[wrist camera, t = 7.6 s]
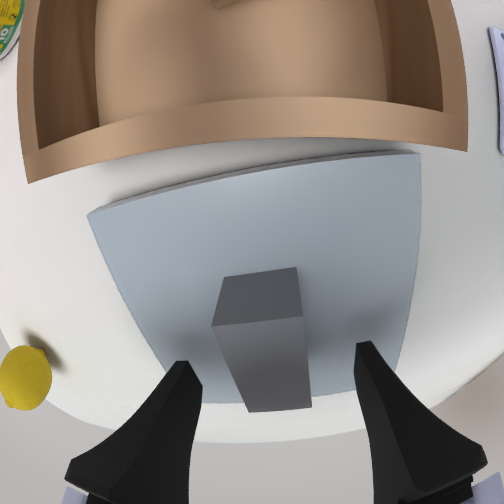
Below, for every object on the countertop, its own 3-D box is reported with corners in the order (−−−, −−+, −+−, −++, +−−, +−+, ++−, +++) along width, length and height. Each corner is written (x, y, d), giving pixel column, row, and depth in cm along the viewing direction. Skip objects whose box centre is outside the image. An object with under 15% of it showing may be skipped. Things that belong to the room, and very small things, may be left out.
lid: (393, 145, 10) (466, 171, 6) (382, 354, 17) (402, 418, 12) (112, 198, 13) (44, 245, 8) (194, 376, 19) (178, 437, 14)
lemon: (19, 321, 18) (-22, 375, 11) (58, 346, 19) (19, 410, 12) (31, 353, 21) (-1, 403, 14) (67, 375, 21) (38, 432, 14)
